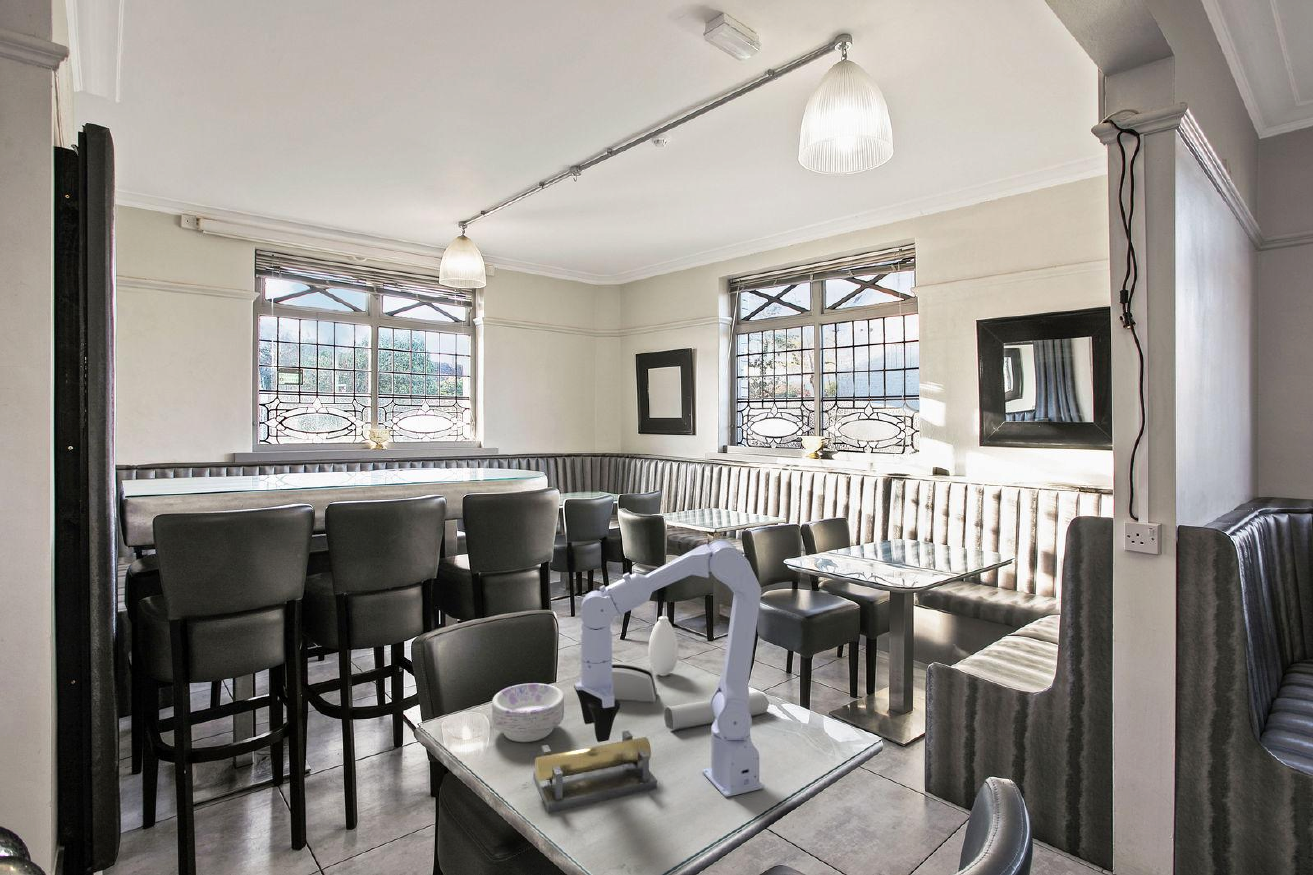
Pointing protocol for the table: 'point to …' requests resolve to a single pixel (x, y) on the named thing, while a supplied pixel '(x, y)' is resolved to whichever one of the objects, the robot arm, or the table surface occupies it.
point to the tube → (706, 712)
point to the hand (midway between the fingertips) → (596, 731)
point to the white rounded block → (633, 682)
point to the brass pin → (591, 758)
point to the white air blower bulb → (663, 647)
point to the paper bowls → (527, 711)
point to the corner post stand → (595, 782)
